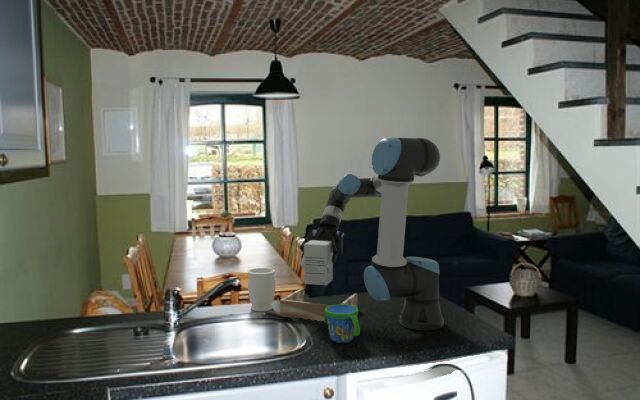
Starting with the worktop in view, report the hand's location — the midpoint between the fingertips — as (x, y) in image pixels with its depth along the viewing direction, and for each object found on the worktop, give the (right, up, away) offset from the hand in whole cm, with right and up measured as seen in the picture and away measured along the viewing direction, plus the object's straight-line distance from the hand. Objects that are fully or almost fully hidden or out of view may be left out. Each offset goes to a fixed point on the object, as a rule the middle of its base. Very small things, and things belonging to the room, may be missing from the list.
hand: (315, 267), depth 189 cm
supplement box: (+1, -6, +3) cm, 7 cm away
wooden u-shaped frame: (+1, -17, +4) cm, 18 cm away
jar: (-21, -17, +10) cm, 29 cm away
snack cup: (+9, -20, -24) cm, 32 cm away
